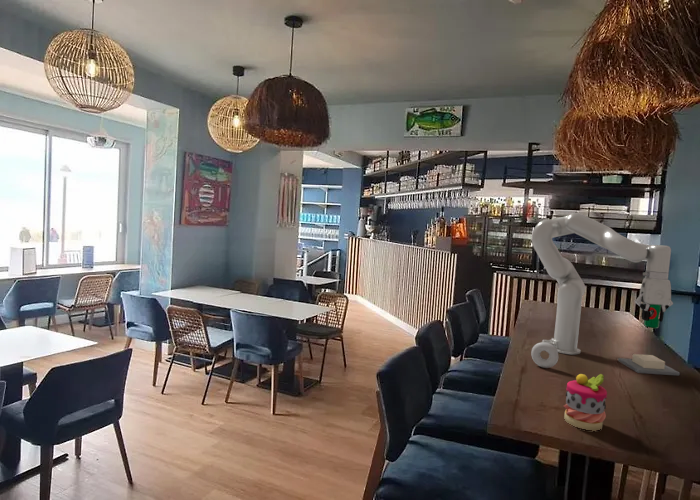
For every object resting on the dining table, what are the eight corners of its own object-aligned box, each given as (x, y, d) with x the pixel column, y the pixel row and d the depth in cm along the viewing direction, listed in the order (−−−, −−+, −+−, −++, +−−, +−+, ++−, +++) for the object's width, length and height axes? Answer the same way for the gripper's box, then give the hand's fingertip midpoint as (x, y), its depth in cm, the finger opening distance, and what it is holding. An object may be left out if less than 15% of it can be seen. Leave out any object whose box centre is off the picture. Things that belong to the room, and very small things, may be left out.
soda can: (661, 329, 180) (664, 299, 179) (647, 327, 181) (650, 298, 180) (655, 326, 185) (658, 297, 184) (641, 324, 186) (644, 296, 185)
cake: (569, 429, 126) (574, 377, 125) (558, 412, 137) (563, 364, 135) (609, 434, 125) (615, 381, 123) (595, 417, 135) (600, 368, 134)
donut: (558, 369, 176) (560, 344, 175) (556, 371, 173) (558, 346, 172) (531, 363, 182) (533, 338, 181) (529, 365, 179) (531, 340, 178)
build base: (637, 372, 177) (639, 362, 177) (617, 360, 191) (619, 351, 191) (679, 375, 177) (680, 365, 177) (656, 363, 191) (657, 353, 191)
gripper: (641, 276, 178) (636, 321, 179) (684, 278, 178) (679, 323, 179) (629, 273, 185) (625, 317, 187) (671, 275, 185) (666, 319, 187)
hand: (651, 319), depth 183 cm, fingers closed on soda can, 5 cm apart
